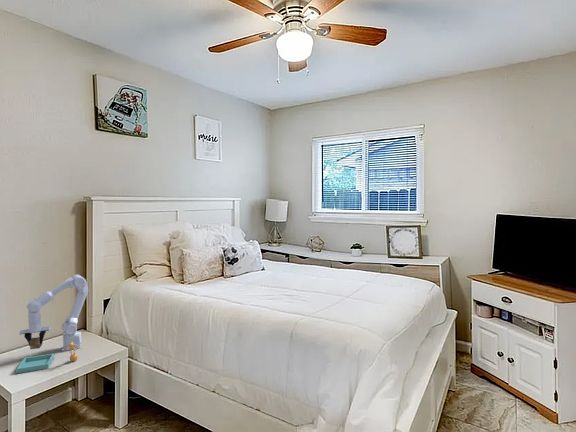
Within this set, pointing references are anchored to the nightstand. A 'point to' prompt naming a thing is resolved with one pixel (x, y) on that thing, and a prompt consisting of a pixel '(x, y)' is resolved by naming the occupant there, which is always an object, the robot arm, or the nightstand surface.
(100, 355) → the nightstand surface
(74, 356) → the figurine
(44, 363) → the teal tray
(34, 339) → the walnut block
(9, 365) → the nightstand surface
